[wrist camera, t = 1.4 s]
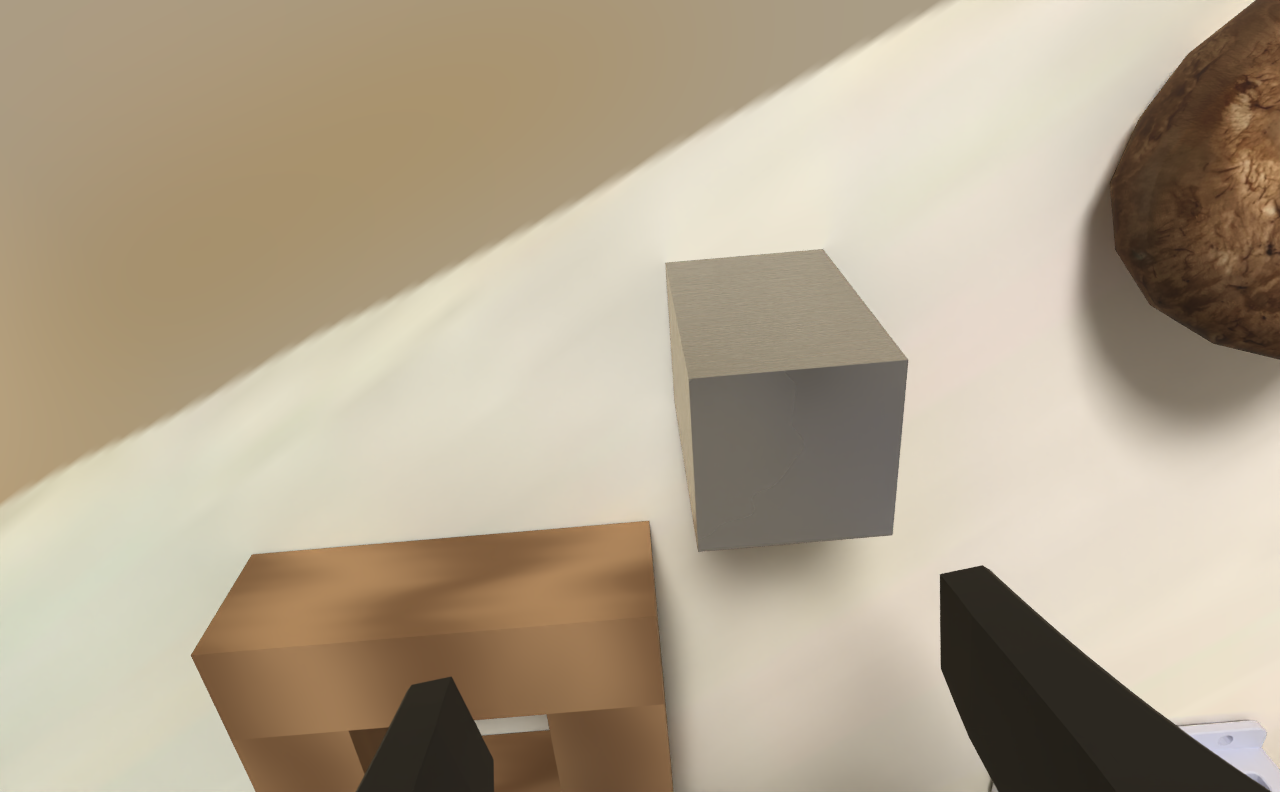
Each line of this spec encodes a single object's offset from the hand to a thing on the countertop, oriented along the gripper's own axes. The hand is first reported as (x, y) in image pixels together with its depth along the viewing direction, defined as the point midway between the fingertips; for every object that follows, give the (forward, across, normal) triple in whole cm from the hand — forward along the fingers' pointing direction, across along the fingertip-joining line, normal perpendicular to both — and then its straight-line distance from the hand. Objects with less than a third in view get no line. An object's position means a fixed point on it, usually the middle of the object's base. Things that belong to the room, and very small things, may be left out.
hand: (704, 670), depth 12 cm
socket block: (+10, +8, +11) cm, 17 cm away
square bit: (+11, -3, 0) cm, 11 cm away
